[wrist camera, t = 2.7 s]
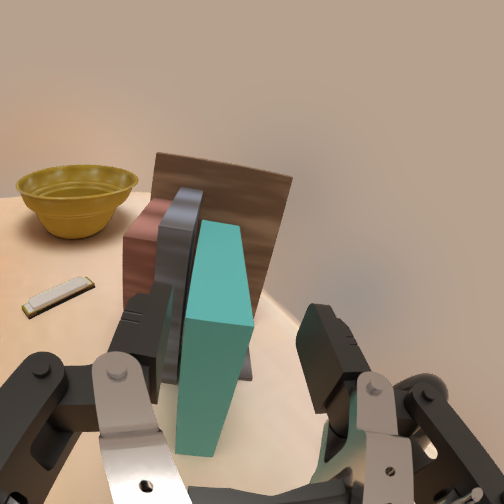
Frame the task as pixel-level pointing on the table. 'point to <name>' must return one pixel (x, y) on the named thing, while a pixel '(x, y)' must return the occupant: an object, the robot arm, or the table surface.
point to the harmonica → (56, 296)
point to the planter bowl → (76, 197)
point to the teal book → (212, 338)
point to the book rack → (188, 229)
